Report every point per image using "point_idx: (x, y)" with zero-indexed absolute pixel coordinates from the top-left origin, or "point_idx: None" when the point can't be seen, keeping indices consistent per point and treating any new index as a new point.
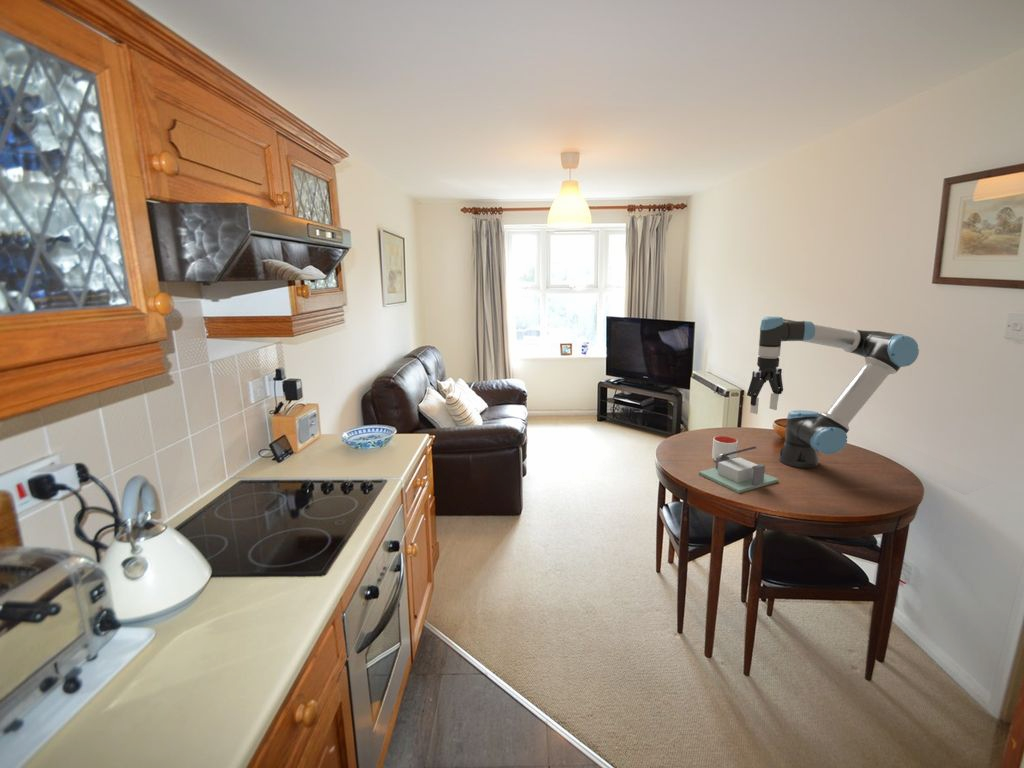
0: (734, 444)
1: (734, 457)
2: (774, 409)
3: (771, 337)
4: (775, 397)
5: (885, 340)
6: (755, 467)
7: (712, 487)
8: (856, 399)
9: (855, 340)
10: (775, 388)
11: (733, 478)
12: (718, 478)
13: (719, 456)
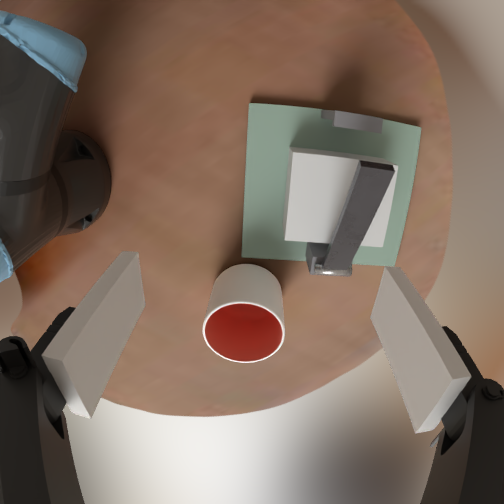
0: (246, 297)
1: (243, 271)
2: (138, 263)
3: None
4: (86, 343)
5: None
6: (381, 121)
7: (436, 190)
8: None
9: None
10: (47, 448)
11: None
12: (397, 208)
13: (350, 270)
